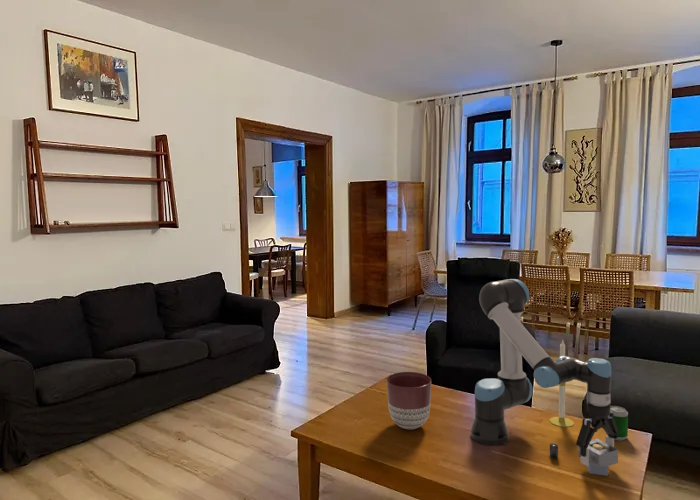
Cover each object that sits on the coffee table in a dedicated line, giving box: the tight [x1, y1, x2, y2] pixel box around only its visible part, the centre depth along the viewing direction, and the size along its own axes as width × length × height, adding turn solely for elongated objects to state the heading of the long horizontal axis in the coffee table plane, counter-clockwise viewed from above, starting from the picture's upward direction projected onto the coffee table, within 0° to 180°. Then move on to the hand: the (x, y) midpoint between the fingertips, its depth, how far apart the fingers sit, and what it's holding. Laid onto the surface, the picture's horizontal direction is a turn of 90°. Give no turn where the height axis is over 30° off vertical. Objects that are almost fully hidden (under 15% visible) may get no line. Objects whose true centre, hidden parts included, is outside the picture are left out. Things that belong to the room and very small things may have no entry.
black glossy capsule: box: [549, 442, 559, 460], centre depth 184 cm, size 3×3×4 cm
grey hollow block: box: [577, 438, 619, 468], centre depth 174 cm, size 9×9×5 cm
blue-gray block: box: [586, 444, 609, 477], centre depth 174 cm, size 6×6×9 cm
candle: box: [549, 339, 575, 428], centre depth 211 cm, size 10×10×38 cm
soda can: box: [610, 405, 629, 441], centre depth 198 cm, size 8×8×12 cm
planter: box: [386, 371, 432, 430], centre depth 212 cm, size 20×20×21 cm
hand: (597, 459), depth 174 cm, fingers open, 13 cm apart
